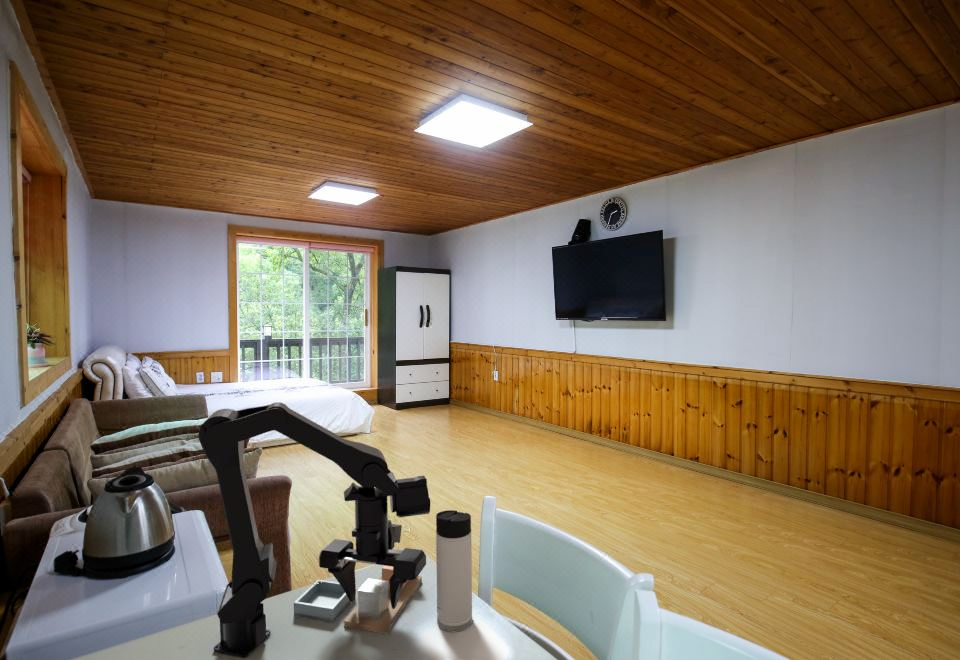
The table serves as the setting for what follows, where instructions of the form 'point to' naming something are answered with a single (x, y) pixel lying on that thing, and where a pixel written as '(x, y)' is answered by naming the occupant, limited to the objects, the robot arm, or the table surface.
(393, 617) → the rail base
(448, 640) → the table surface
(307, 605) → the tray
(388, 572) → the block
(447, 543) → the travel mug
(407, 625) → the table surface
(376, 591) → the block
